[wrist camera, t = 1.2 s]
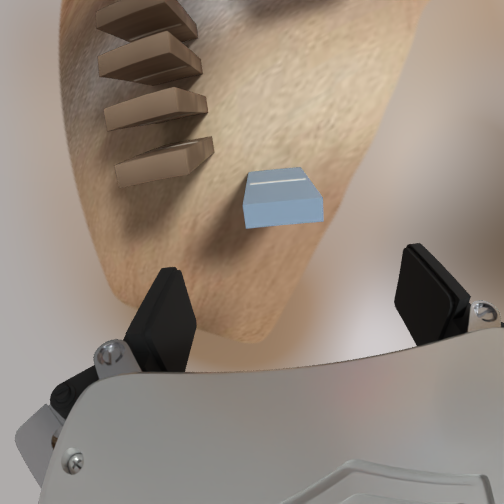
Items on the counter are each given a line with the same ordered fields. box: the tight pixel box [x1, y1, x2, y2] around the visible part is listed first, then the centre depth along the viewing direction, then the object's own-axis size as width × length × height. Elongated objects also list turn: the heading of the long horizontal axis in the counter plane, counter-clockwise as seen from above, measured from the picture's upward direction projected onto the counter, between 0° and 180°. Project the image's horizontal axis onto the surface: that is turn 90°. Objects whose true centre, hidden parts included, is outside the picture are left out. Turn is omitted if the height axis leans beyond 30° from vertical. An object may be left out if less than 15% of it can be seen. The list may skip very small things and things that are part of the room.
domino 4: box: [114, 136, 214, 188], centre depth 20 cm, size 2×5×10 cm, turn 97°
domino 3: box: [104, 87, 208, 131], centre depth 18 cm, size 2×5×10 cm, turn 97°
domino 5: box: [243, 167, 323, 229], centre depth 21 cm, size 2×5×10 cm, turn 97°
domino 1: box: [96, 0, 198, 43], centre depth 14 cm, size 2×5×10 cm, turn 97°
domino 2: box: [98, 31, 203, 86], centre depth 16 cm, size 2×5×10 cm, turn 97°
